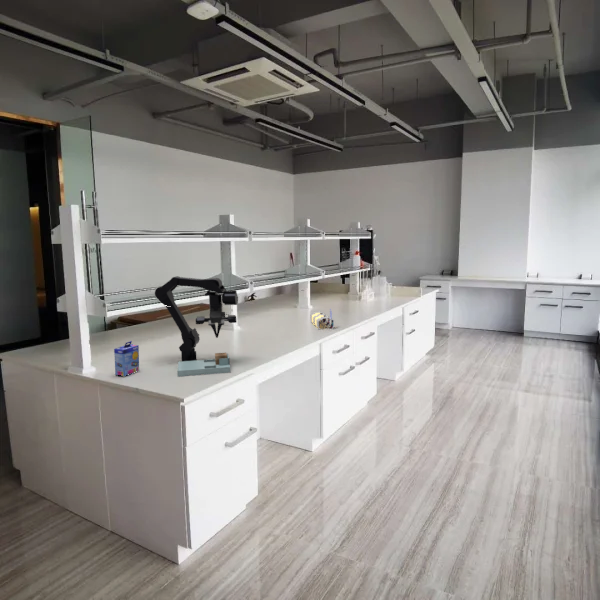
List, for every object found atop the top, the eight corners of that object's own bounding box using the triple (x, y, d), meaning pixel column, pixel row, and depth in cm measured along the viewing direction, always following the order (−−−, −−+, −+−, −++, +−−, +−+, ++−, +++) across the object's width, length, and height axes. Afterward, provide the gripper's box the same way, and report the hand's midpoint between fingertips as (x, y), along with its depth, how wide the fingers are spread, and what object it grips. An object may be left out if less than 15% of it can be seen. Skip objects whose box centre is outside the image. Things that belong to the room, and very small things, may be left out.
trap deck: (177, 376, 194) (177, 364, 193) (178, 366, 208) (178, 355, 208) (230, 372, 199) (230, 360, 198) (227, 363, 214) (227, 352, 213)
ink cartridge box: (124, 377, 194) (122, 344, 192) (114, 376, 196) (112, 343, 194) (140, 371, 203) (138, 339, 201) (130, 369, 205) (128, 338, 203)
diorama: (333, 329, 290) (333, 309, 288) (318, 330, 288) (318, 310, 287) (324, 322, 315) (324, 303, 313) (310, 323, 313) (310, 304, 311)
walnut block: (215, 364, 202) (215, 356, 202) (215, 361, 207) (215, 353, 207) (227, 363, 204) (226, 355, 203) (226, 361, 208) (226, 352, 208)
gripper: (194, 308, 202) (195, 342, 205) (236, 306, 205) (237, 340, 208) (195, 304, 213) (197, 337, 215) (235, 303, 216) (236, 335, 218)
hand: (217, 337), depth 214 cm, fingers closed
